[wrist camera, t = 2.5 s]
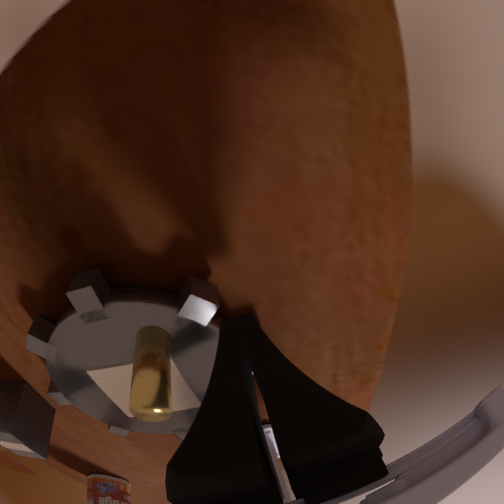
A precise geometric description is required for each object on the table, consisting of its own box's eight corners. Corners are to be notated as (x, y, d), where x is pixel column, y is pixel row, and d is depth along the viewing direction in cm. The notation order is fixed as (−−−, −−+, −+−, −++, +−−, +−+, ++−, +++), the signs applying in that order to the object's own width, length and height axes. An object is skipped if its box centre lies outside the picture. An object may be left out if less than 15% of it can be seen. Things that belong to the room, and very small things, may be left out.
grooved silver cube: (55, 409, 17) (46, 460, 13) (26, 409, 17) (16, 455, 12) (26, 380, 15) (10, 434, 10) (-2, 381, 15) (-18, 429, 10)
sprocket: (280, 400, 20) (301, 463, 15) (110, 431, 18) (107, 487, 14) (238, 227, 12) (272, 311, 8) (-6, 300, 11) (-46, 370, 6)
